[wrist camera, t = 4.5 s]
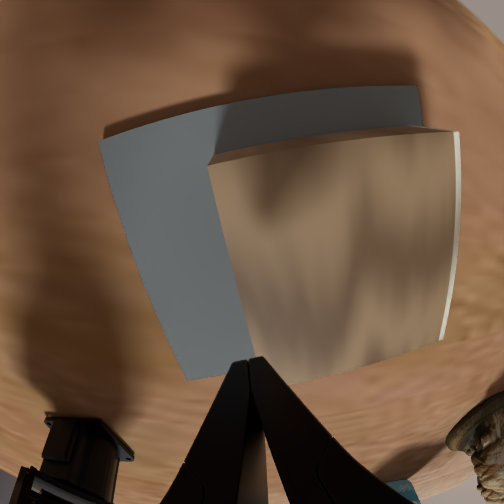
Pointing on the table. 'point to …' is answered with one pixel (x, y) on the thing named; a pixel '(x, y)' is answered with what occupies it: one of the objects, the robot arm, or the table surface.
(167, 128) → the mat
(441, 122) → the table surface
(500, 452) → the owl figurine
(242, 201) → the slab
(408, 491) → the data package
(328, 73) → the table surface
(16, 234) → the table surface
